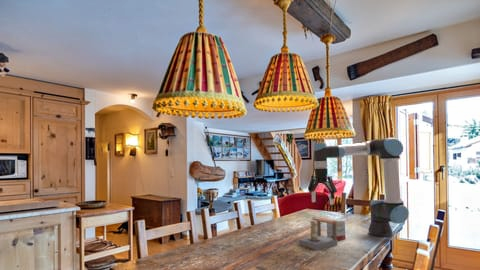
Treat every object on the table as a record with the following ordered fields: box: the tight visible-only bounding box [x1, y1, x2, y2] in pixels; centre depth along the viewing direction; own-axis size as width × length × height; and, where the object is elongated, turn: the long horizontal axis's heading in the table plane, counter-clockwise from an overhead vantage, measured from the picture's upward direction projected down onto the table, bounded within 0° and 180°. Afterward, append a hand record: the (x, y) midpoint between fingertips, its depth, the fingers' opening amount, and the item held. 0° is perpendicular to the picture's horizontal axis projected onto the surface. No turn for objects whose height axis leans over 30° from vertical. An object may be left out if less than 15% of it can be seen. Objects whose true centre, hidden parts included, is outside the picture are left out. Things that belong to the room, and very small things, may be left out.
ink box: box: [326, 218, 346, 241], centre depth 198 cm, size 9×9×12 cm
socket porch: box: [298, 216, 338, 251], centre depth 183 cm, size 18×14×14 cm
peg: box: [309, 220, 318, 242], centre depth 182 cm, size 4×4×14 cm
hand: (322, 203), depth 184 cm, fingers open, 13 cm apart
